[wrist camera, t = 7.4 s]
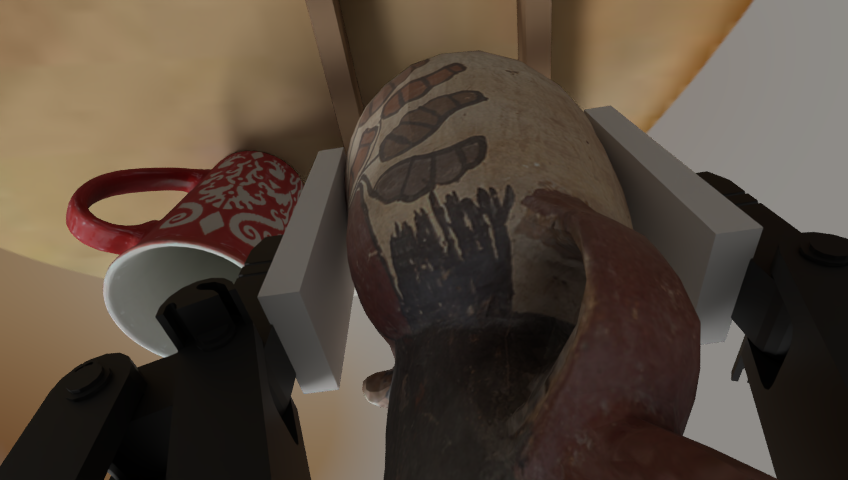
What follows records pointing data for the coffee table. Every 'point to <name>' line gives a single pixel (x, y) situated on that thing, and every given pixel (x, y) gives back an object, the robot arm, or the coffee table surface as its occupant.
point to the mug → (183, 233)
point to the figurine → (515, 288)
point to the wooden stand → (341, 72)
